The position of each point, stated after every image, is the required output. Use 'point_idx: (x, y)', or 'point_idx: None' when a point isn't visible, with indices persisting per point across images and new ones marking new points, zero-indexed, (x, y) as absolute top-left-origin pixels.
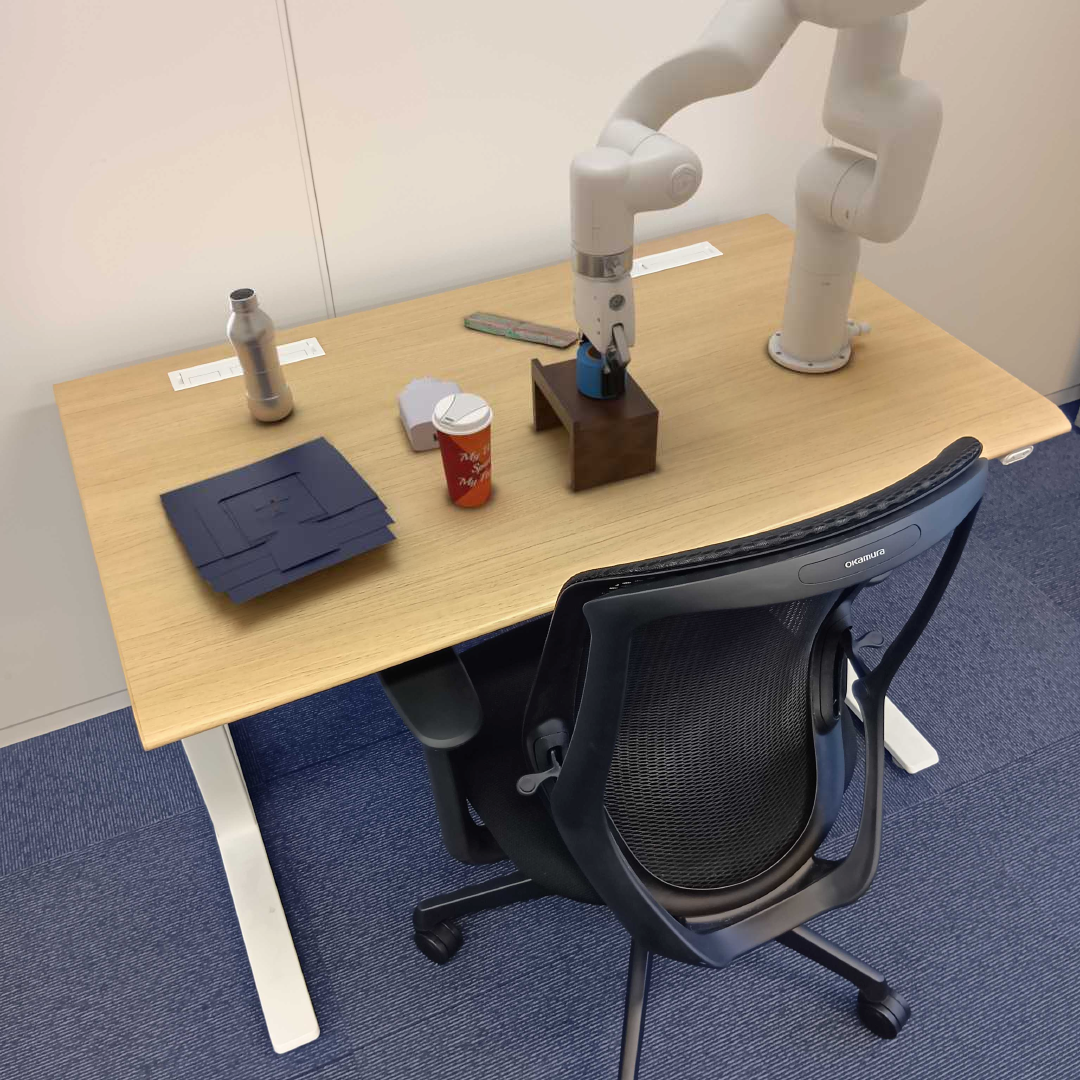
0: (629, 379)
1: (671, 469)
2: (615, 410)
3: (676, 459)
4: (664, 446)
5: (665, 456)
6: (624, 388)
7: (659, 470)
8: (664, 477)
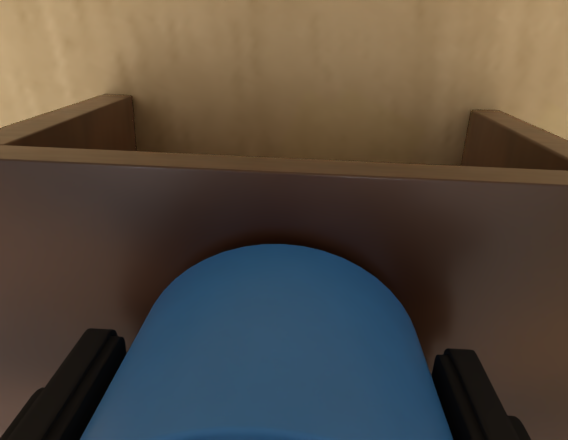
0: (278, 197)
1: (525, 52)
2: (514, 387)
3: (487, 4)
4: (395, 8)
5: (449, 35)
6: (480, 364)
7: (505, 95)
8: (547, 97)
